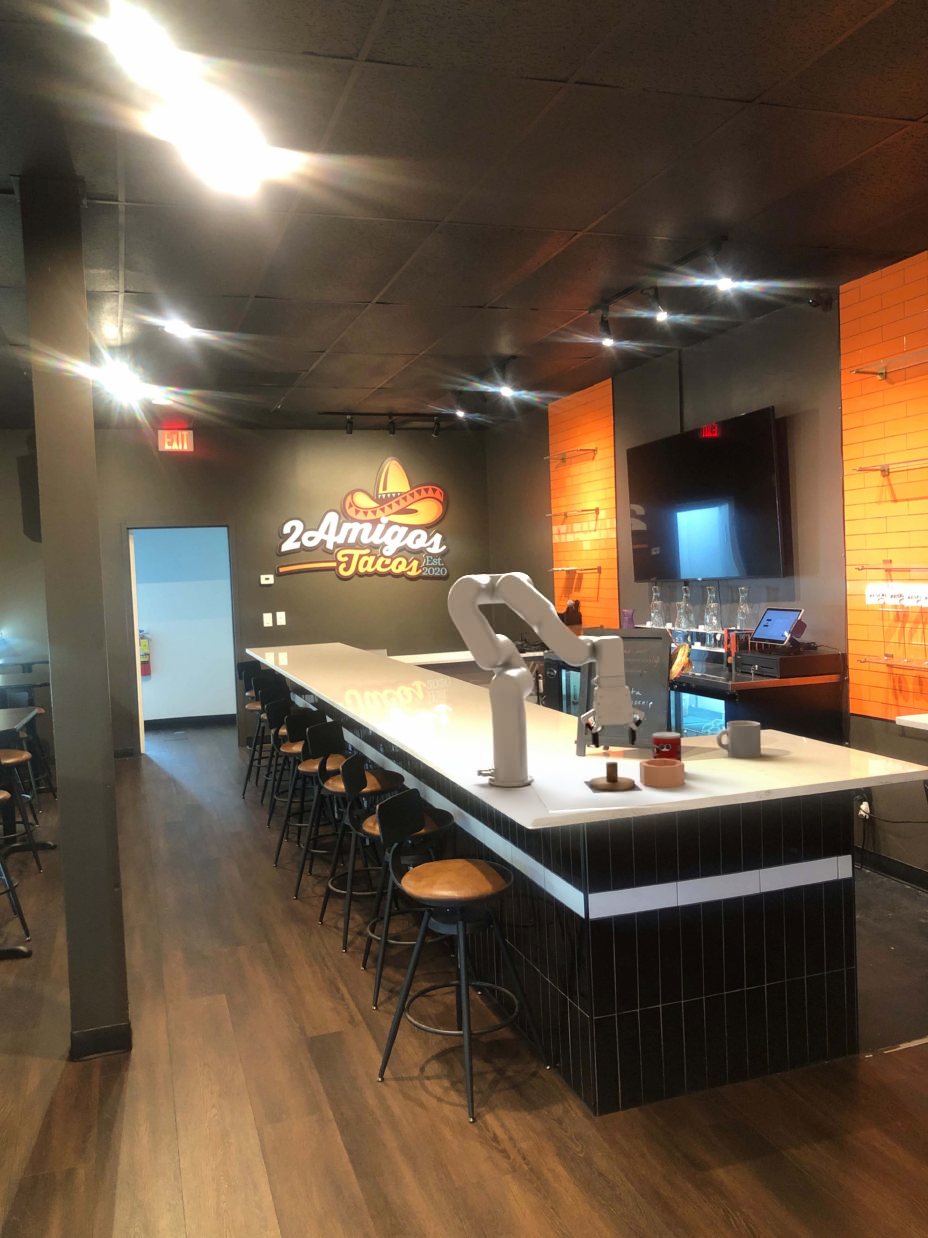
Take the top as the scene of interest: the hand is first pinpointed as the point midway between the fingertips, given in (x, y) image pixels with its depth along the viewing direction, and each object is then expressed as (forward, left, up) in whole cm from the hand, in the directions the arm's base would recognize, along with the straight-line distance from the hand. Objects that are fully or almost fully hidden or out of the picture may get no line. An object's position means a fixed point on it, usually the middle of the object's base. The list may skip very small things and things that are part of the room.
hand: (614, 745), depth 242 cm
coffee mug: (+47, +34, -12) cm, 60 cm away
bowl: (+13, +1, -12) cm, 18 cm away
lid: (-1, 0, -11) cm, 11 cm away
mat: (-1, 0, -12) cm, 12 cm away
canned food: (+19, +16, -12) cm, 28 cm away
